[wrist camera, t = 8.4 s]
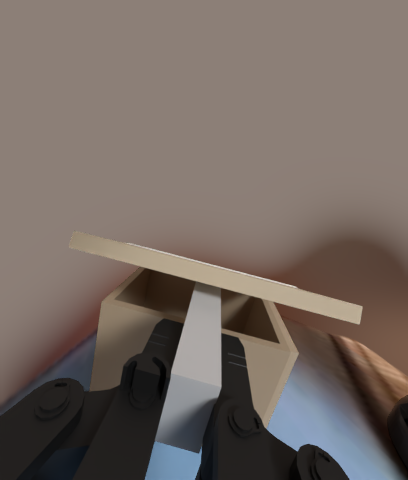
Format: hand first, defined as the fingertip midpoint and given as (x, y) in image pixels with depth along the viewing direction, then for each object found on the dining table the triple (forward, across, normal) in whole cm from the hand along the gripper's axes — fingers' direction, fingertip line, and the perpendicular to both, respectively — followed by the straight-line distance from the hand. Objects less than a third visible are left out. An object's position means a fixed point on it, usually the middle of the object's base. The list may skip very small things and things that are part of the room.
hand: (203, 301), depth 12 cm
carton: (+6, 0, -14) cm, 15 cm away
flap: (+4, 0, 0) cm, 4 cm away
